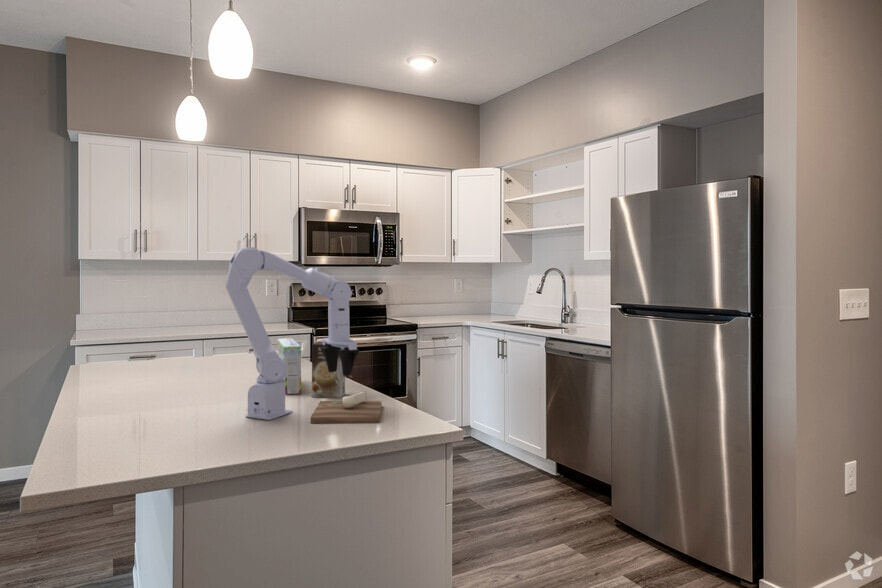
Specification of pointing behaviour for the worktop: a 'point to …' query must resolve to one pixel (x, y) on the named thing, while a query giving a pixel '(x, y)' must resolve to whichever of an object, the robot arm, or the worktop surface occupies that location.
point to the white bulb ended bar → (354, 399)
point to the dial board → (347, 412)
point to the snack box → (291, 364)
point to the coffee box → (326, 375)
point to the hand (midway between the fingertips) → (339, 373)
